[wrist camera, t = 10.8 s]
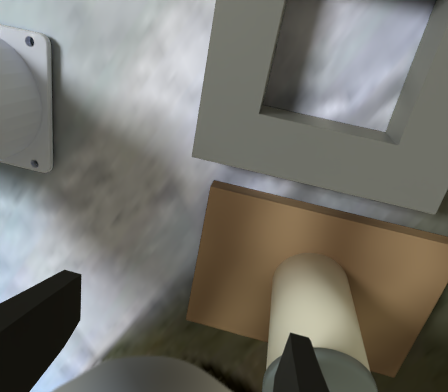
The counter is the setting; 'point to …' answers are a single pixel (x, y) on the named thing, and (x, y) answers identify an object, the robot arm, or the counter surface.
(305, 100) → the counter surface
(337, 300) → the cartridge
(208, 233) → the board
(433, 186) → the housing
